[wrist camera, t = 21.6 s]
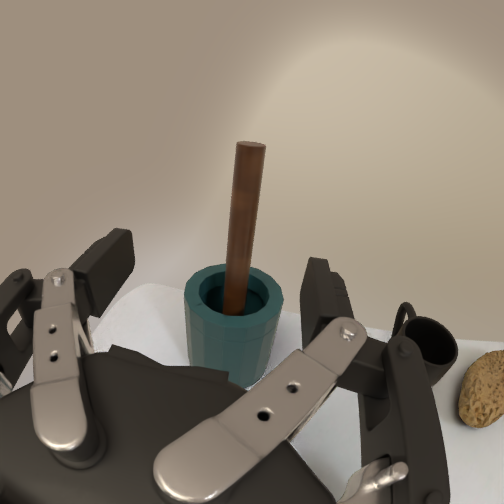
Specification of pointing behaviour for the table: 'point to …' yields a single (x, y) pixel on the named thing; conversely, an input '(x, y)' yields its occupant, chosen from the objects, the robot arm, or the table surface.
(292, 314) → the table surface
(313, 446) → the table surface
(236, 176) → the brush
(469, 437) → the table surface
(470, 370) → the sponge
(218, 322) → the jar
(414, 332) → the mug
